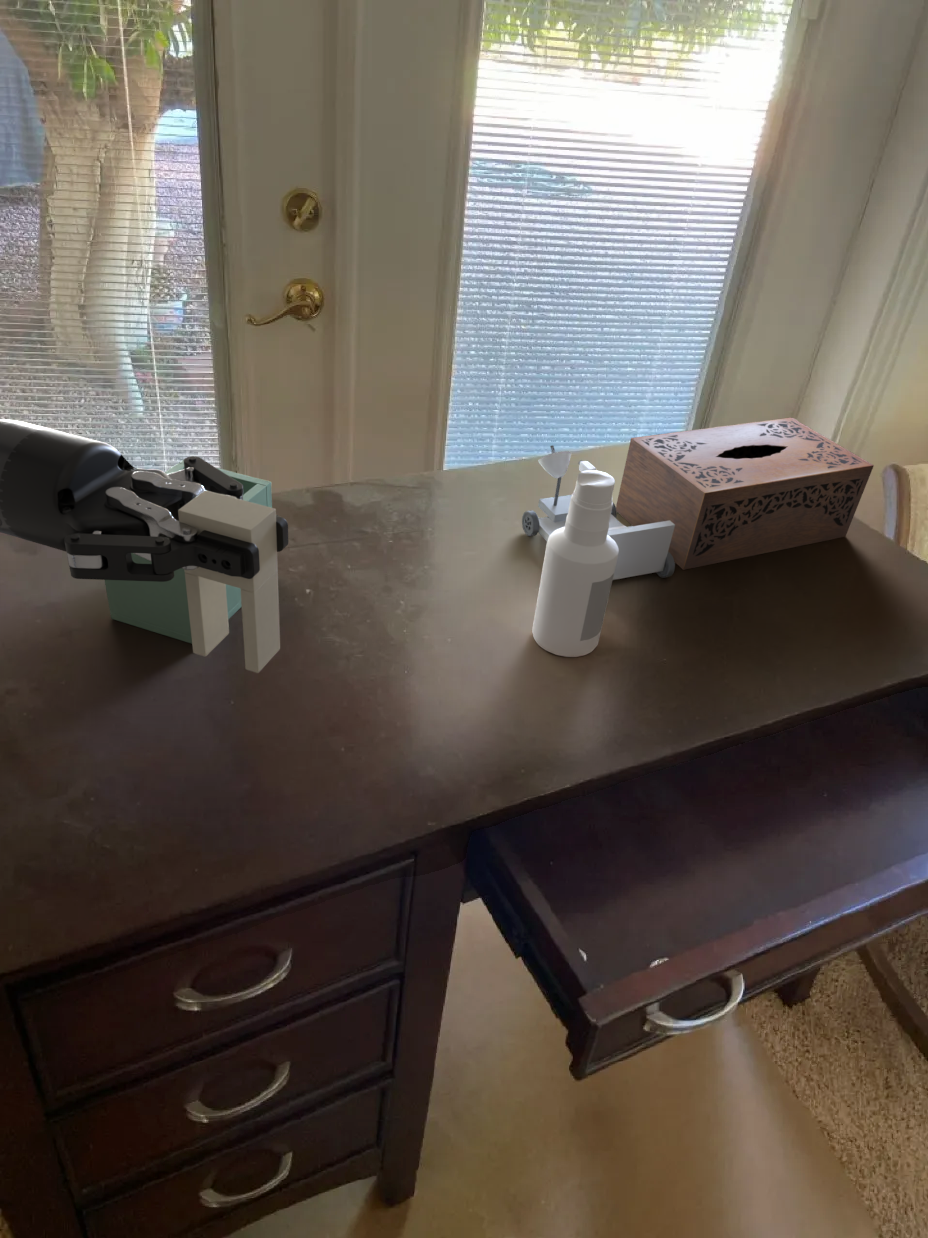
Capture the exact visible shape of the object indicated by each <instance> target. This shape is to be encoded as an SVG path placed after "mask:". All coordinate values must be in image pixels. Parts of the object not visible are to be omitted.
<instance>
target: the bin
mask: <svg viewBox="0 0 928 1238" xmlns="http://www.w3.org/2000/svg"><path fill="white" fill-rule="evenodd" d="M216 468H217V469H219V470H220V471H222V472H223V473H225V474H227V475H228V476H230V477H231V478H233V479H235V480H236V481H238V482H239V483H241V484H242V485H243V500H244V501H248V502H252V503H256V504H259V505H263V506H267V507H271V508H273V499H272V495H273V494H272V481H269V480H266V479H261V478H258V477H254V476H249V475H247V474H242V473H239V472H235V471H231V470H227V469H224V468H219V467H216ZM183 469H184V459H182V460H180V461H179V462H178V463H176V464H174V465H173V466H171V468H169V469H167V470H166V471H164V472H165V473H166V474H170V473H173V472H177V471H180V470H183ZM131 555H132V560H133V562H135V563H137V564H152V562H151V561H149V560H147V559H145V558H143V557H140V556H138V555H136V554H133V553H131ZM104 587H105V591H106V597H107V602H108V607H109V608H108V609H109V612H110V613H109V614H110V618H111V620H113V621H118V622H120V623H123V624H127V625H131V626H133V627H137V628H140V629H143V630H146V631H150V632H153V633H156V634H160V635H162V636H165V637H169V638H171V639H176V640H179V641H182V642H184V643H187V644H192V637H191V627H190V618H189V608H188V599H187V589H186V580H185V572H184V569H182V568H180V569H178V570H176V571H174V578H173V579H171V580H169V581H165V582H157V581H127V580H104ZM226 597H227V610H228V621H229V620H230V619H231V618H232V617H233V616H234V615H235V614H236V613H237V612H238V611H239V610H240V609H242V606H241V590H240V588H237V587H233V586H230V585H227V584H226Z"/></svg>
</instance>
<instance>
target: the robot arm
mask: <svg viewBox="0 0 928 1238" xmlns="http://www.w3.org/2000/svg"><path fill="white" fill-rule="evenodd" d="M183 460H184V469H183V470H180V471H177V472H173V473H170V474H166V473H165V472H166V471H163V470H160V469H156V468H137V467H134V466H133V465H132V464H131V462H129V461H128V460H127V459H126V458H125V456H124V455H123V454H122V453H121V452H120V451H119V450H118V449H117V448H116V447H115V446H113V445H111V444H109V443H107V442H103V441H101V440H100V441H99V440H96V439H92V438H88V437H84V436H81V435H76V434H72V433H69V432H65V431H61V430H58V429H54V428H50V427H47V426H46V427H45V426H42V425H38V424H34V423H30V422H26V421H22V420H15V419H4V418H0V533H2V534H5V535H7V536H11V537H15V538H17V539H22V540H24V541H29V542H32V543H35V544H38V545H42V546H45V547H49V548H52V549H56V550H59V551H63V552H65V553H66V556H67V562H68V566H69V572H70V576H71V578H73V579H76V580H99V581H101V580H102V581H105V580H127V581H157V582H165V581H169V580H171V579H173V578H174V571H176V570H178V569H180V568H182V569H185V570H194V569H197V568H199V567H201V568H205V569H208V570H212V571H215V572H219V573H222V574H223V573H224V574H226V575H229V576H236V577H243V578H246V579H252V578H253V577H254V576H255V575H256V574H257V573H258V572H259V571H260V562H259V549H258V547H257V546H256V545H255V544H254V543H249V542H246V541H242V540H238V539H235V538H231V537H228V536H224V535H220V534H217V533H213V532H210V531H206V530H203V531H202V532H201V533H200V534H198V533H197V529H196V528H195V527H193V526H190V525H188V524H185V523H182V522H179V515H178V510H179V509H180V508H182V507H183V506H184V505H186V504H187V503H189V502H190V501H191V500H193V499H194V498H195V497H197V496H198V495H200V494H201V493H202V492H204V491H205V490H207V491H211V492H214V493H218V494H222V495H226V496H229V497H233V498H237V499H241V500H243V485H242V484H241V483H239V482H238V481H236V480H235V479H233V478H231V477H230V476H228V475H227V474H225V473H223V472H222V471H220V470H219V469H220V468H219V469H217V468H218V467H216V466H214V465H212V464H211V463H209V462H208V461H206V460H204V459H203V458H202V457H200V456H196V455H192V456H187V457H185V458H183ZM276 535H277V553H280V552H282V551H283V550H284V549H285V548H286V547H287V546H288V545H289V523H288V521H287V520H286V519H285V518H284V517H283V516H281V515H278V514H276ZM131 553H133V554H136V555H138V556H140V557H143V558H145V559H147V560H149V561H151V562H152V564H137V563H135V562H133V560H132V555H131Z"/></svg>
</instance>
